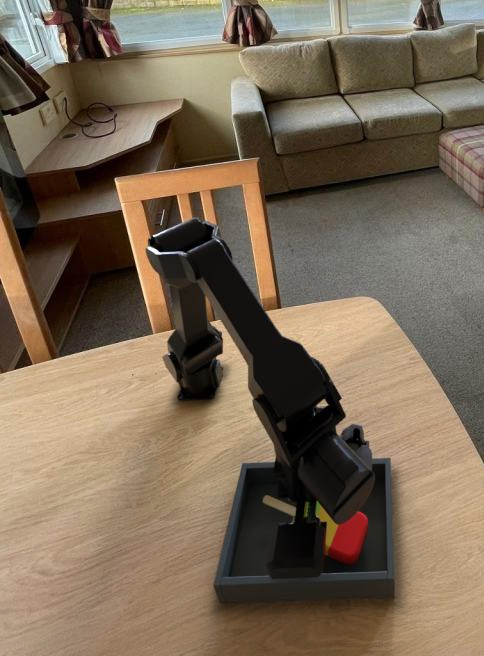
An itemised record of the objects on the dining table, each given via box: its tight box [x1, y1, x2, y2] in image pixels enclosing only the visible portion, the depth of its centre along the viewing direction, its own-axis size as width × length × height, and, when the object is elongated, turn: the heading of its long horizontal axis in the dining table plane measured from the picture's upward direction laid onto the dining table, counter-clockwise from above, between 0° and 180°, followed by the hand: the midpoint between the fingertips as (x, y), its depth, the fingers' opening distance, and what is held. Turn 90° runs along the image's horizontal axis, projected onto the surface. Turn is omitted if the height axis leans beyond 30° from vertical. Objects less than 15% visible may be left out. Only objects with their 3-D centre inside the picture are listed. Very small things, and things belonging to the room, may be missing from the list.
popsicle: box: [263, 495, 368, 564], centre depth 65 cm, size 6×15×2 cm, turn 69°
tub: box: [213, 457, 396, 605], centre depth 65 cm, size 22×14×5 cm, turn 91°
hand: (310, 518), depth 64 cm, fingers closed on popsicle, 6 cm apart
